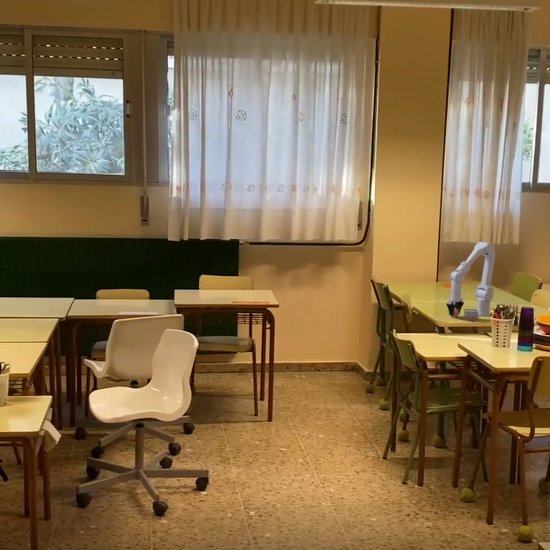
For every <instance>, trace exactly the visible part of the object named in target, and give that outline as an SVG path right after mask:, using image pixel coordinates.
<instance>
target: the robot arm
mask: <svg viewBox="0 0 550 550" xmlns="http://www.w3.org/2000/svg"><path fill="white" fill-rule="evenodd" d="M473 247H474V249H473V250H472V252H471V253H470V255H469V256H468V257H467V259H466V260H465V261H462V262H461V263H460V265H459V266H458V267H457V268H456V269H455V270H454V271H452V272H451V273H450V275H449V280H450V283H451V285H450V298H449V297H448V300H447V302H446V307H447V310H448V315H449V316H450V317H451V316H453V315H454V310H455V309H458V310H459V313H458V315H460V313H461V310H462V308H463V306H464V305H465V302H464V298H463V297H462V296H461V295H462V282H464V280H465V276H466V274H468V272H469V271H470V269H471V268H472V266H471V265H472V264H473V263H474V262H475V261H476V260H477V259H478V257H480V256H483V257H484V265H483V269H482V276H481V283H480V284H478V285H477V289H476V290H475V297H476V299H477V304H476V305H477V306H476V309H477V311H478V316H481V317H491V314H490V308H491V301H492V300H493V298H494V287H493V286H492V279H493V271H494V265H495V261H496V251H495V250H496V246H495V245H494V244H493V242H485V241H481V240H479V241H478V242H476V244H475V245H474V246H473Z"/></svg>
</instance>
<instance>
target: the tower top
mask: <svg viewBox="0 0 550 550" xmlns="http://www.w3.org/2000/svg"><path fill="white" fill-rule="evenodd" d="M463 310H464V315H465V317H478V318H479V315H478V311H477V308H476V309H473V308H464V309H463Z"/></svg>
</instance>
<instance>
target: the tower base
mask: <svg viewBox="0 0 550 550" xmlns="http://www.w3.org/2000/svg"><path fill="white" fill-rule="evenodd" d="M463 318H464V319H463V320H464V321H465V320H467V321H466V322H474V321H478V320H479V319H478V318H479V316H478V317H465V314H464V317H463Z"/></svg>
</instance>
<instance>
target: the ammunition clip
mask: <svg viewBox="0 0 550 550" xmlns="http://www.w3.org/2000/svg"><path fill="white" fill-rule="evenodd" d="M500 305H502V306H503V305H505V306H508V307H510V308H511V310H514V311H515V312H516V316H515V320H514V325H513V326H518V325H519V324H518V323H519V321H518V317H519V304H516V305H515V304H513V305H512V303H510V304H509V303H507V304H505V303H503V304H502V303H500ZM500 305H499V306H500Z"/></svg>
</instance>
